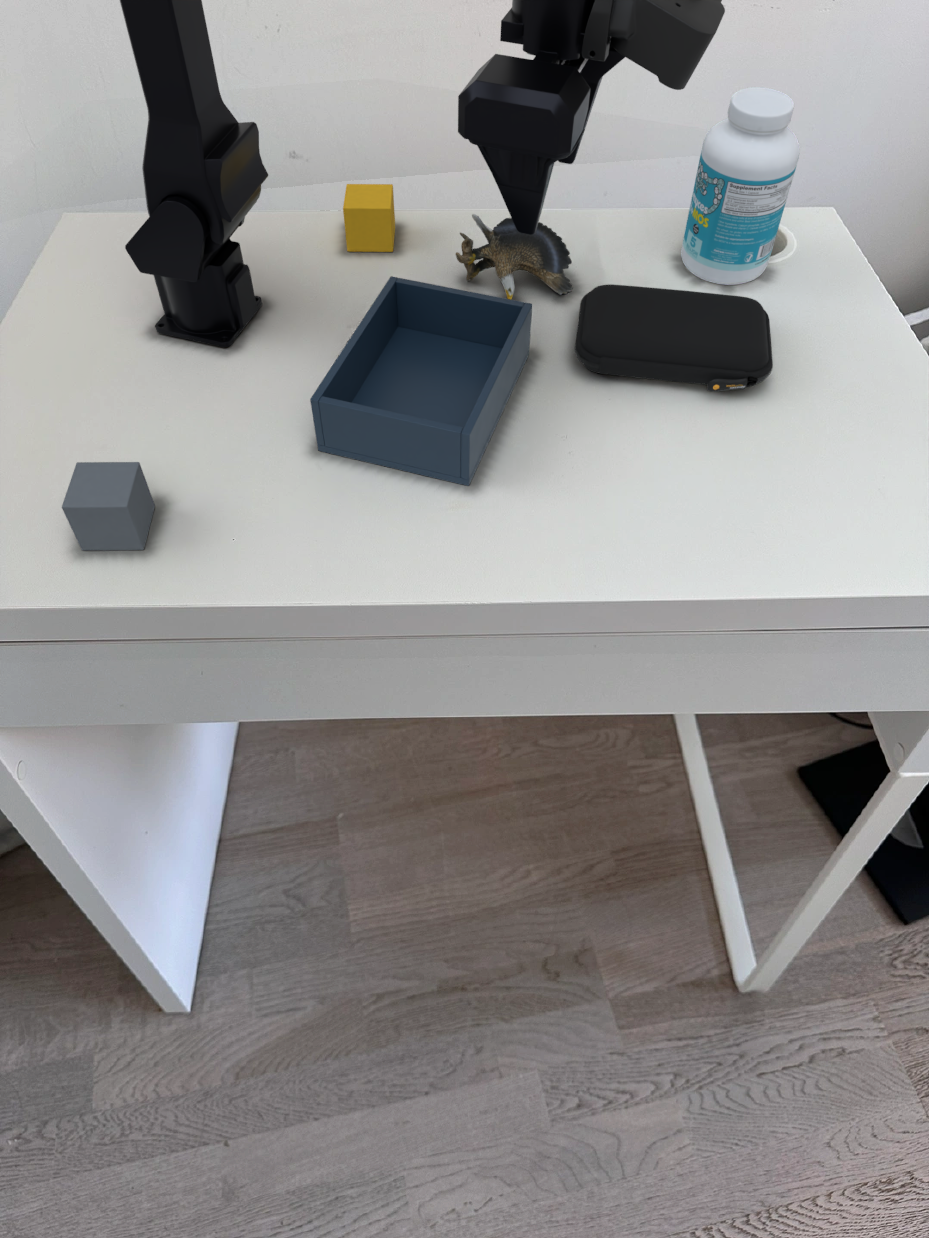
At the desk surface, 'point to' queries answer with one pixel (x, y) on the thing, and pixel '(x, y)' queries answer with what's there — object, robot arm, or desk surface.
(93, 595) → the desk surface
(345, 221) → the mustard yellow block
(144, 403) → the desk surface
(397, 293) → the dark blue open box
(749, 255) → the pill bottle
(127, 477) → the slate grey cube
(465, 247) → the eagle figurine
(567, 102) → the robot arm
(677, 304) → the carrying case
